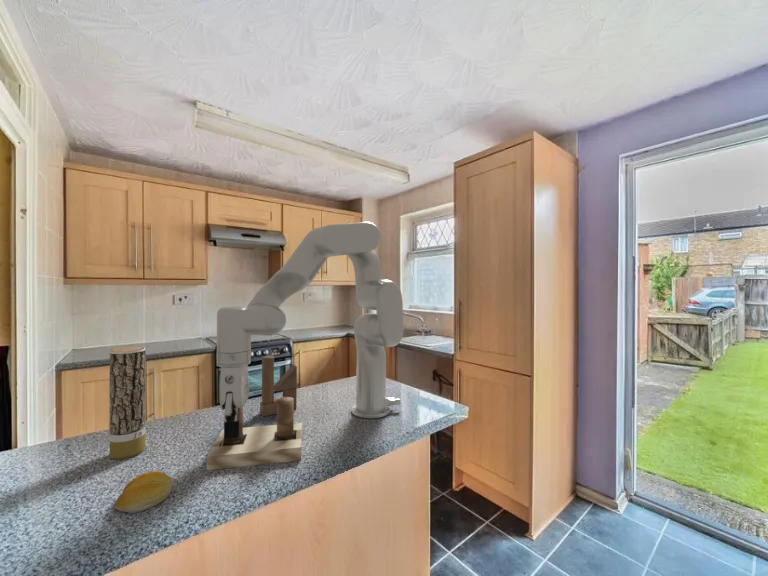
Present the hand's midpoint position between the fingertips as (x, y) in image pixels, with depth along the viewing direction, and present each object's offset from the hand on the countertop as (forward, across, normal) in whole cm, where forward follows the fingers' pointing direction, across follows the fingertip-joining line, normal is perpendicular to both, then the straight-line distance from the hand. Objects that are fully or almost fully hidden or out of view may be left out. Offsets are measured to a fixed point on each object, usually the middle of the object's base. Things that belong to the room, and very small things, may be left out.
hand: (233, 432), depth 80 cm
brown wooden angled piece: (+5, +25, -8) cm, 27 cm away
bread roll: (+5, -15, +13) cm, 20 cm away
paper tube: (+5, +5, +25) cm, 26 cm away
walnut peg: (+4, 0, 0) cm, 4 cm away
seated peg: (+5, 0, -12) cm, 13 cm away
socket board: (+5, 0, -6) cm, 8 cm away
